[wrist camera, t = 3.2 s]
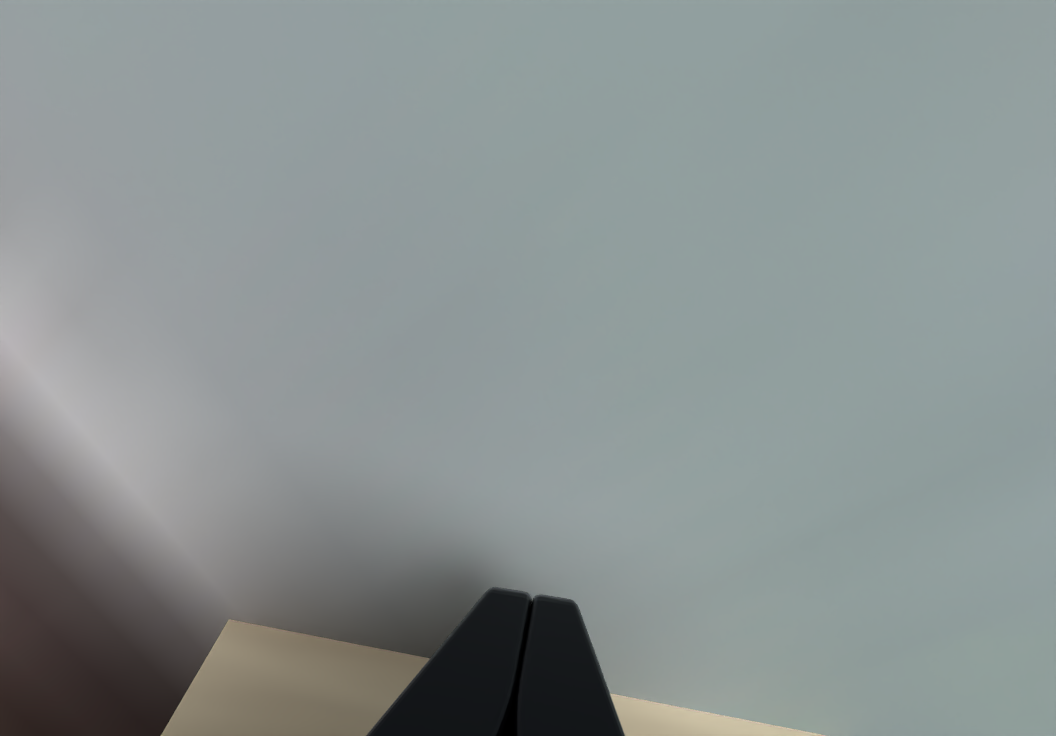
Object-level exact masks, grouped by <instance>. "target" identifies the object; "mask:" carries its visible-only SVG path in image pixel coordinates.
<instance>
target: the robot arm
mask: <svg viewBox="0 0 1056 736" xmlns="http://www.w3.org/2000/svg"><path fill="white" fill-rule="evenodd" d="M366 736H625V734H624V731H623V728H622V726H621V723H620V720H619V717H618V715H617V712H616V709H615V706H614V704H613V701H612V698H611V695H610V693H609V690H608V687H607V684H606V682H605V679H604V676H603V673H602V670H601V668H600V665H599V662H598V659H597V657H596V654H595V651H594V648H593V646H592V643H591V640H590V637H589V635H588V632H587V629H586V626H585V624H584V621H583V618H582V615H581V613H580V610H579V608H578V606H577V604H576V603H575V602H574V601H573V600H571V599H565V598H559V597H553V596H547V595H536V596H535V597H534V598H533V600H532V598H531V596H530V595H529V594H528V593H527V592H523V591H517V590H510V589H504V588H498V587H493V588H491V589H489V590H488V591H486V592H485V594H484V595H483V596H482V597H481V598H480V599H479V601H478V602H477V603H476V604H475V605H474V607H473V608H472V609H471V610H470V611H469V613H468V614H467V615H466V616H465V617H464V619H463V620H462V621H461V622H460V623H459V625H458V626H457V627H456V628H455V629H454V631H453V632H452V633H451V634H450V635H449V637H448V638H447V639H446V640H445V641H444V643H443V644H442V645H441V646H440V647H439V649H438V650H437V651H436V652H435V653H434V655H433V656H432V657H431V658H430V659H429V661H428V662H427V663H426V664H425V665H424V667H423V668H422V669H421V670H420V671H419V673H418V674H417V675H416V676H415V677H414V678H413V680H412V681H411V682H410V683H409V684H408V686H407V687H406V688H405V689H404V690H403V692H402V693H401V694H400V695H399V696H398V698H397V699H396V700H395V701H394V702H393V704H392V705H391V706H390V707H389V708H388V710H387V711H386V712H385V713H384V714H383V716H382V717H381V718H380V719H379V720H378V722H377V723H376V724H375V725H374V726H373V728H372V729H371V730H370V731H369V732H368V734H367V735H366Z"/></svg>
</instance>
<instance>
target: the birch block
mask: <svg viewBox="0 0 1056 736" xmlns="http://www.w3.org/2000/svg"><path fill="white" fill-rule="evenodd" d="M429 659H430V658H425V657H420V656H415V655H410V654H405V653H400V652H394V651H389V650H384V649H379V648H374V647H369V646H364V645H359V644H353V643H348V642H343V641H338V640H333V639H328V638H323V637H317V636H312V635H307V634H302V633H297V632H292V631H287V630H281V629H276V628H271V627H266V626H261V625H256V624H251V623H246V622H240V621H235V620H230V619H229V620H228V621H227V623H226V625H225V627H224V628H223V630H222V632H221V633H220V635H219V637H218V639H217V640H216V642H215V644H214V645H213V647H212V649H211V651H210V652H209V654H208V656H207V657H206V659H205V661H204V663H203V664H202V666H201V668H200V669H199V671H198V673H197V675H196V676H195V678H194V680H193V681H192V683H191V685H190V686H189V688H188V690H187V692H186V693H185V695H184V697H183V698H182V700H181V702H180V704H179V705H178V707H177V709H176V710H175V712H174V714H173V716H172V717H171V719H170V721H169V722H168V724H167V726H166V728H165V729H164V731H163V733H162V734H161V736H366V735H367V734H368V732H369V731H370V730H371V729H372V728H373V726H374V725H375V724H376V723H377V722H378V720H379V719H380V718H381V717H382V716H383V714H384V713H385V712H386V711H387V710H388V708H389V707H390V706H391V705H392V704H393V702H394V701H395V700H396V699H397V698H398V696H399V695H400V694H401V693H402V692H403V690H404V689H405V688H406V687H407V686H408V684H409V683H410V682H411V681H412V680H413V678H414V677H415V676H416V675H417V674H418V673H419V671H420V670H421V669H422V668H423V667H424V665H425V664H426V663H427V662H428V661H429ZM610 695H611V698H612V701H613V704H614V706H615V709H616V712H617V715H618V717H619V720H620V723H621V726H622V728H623V731H624V734H625V736H826V735H821V734H815V733H810V732H805V731H800V730H795V729H790V728H785V727H780V726H774V725H769V724H764V723H759V722H754V721H749V720H744V719H738V718H733V717H728V716H723V715H718V714H713V713H708V712H703V711H697V710H692V709H687V708H682V707H677V706H672V705H667V704H661V703H656V702H651V701H646V700H641V699H636V698H631V697H625V696H620V695H615V694H610Z"/></svg>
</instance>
